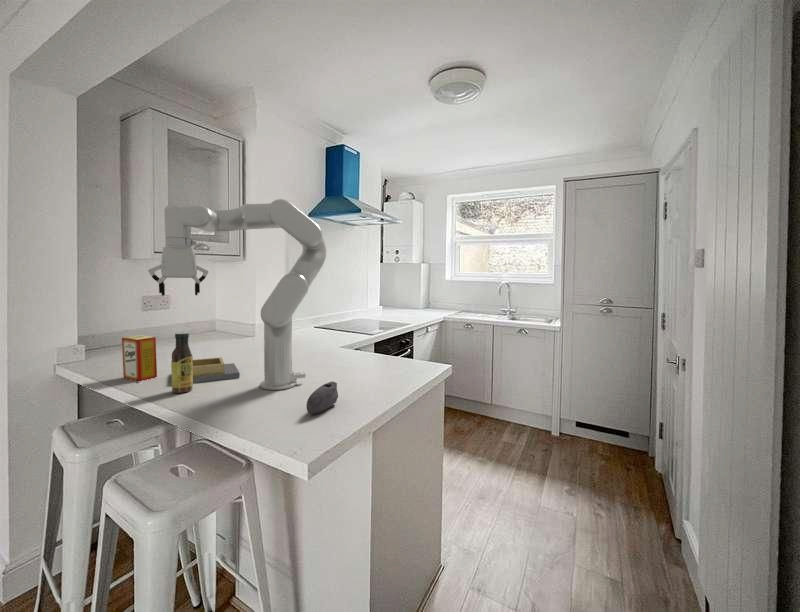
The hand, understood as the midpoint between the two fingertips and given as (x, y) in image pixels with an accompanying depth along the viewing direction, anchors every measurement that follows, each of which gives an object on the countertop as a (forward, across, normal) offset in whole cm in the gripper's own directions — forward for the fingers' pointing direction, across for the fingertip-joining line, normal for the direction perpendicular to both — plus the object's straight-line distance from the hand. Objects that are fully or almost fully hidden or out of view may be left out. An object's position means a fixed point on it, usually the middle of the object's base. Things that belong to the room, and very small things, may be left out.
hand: (180, 295), depth 126 cm
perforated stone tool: (+33, -38, +39) cm, 63 cm away
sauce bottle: (+33, 0, +1) cm, 33 cm away
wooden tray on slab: (+33, -7, -17) cm, 38 cm away
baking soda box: (+33, +15, -24) cm, 44 cm away
